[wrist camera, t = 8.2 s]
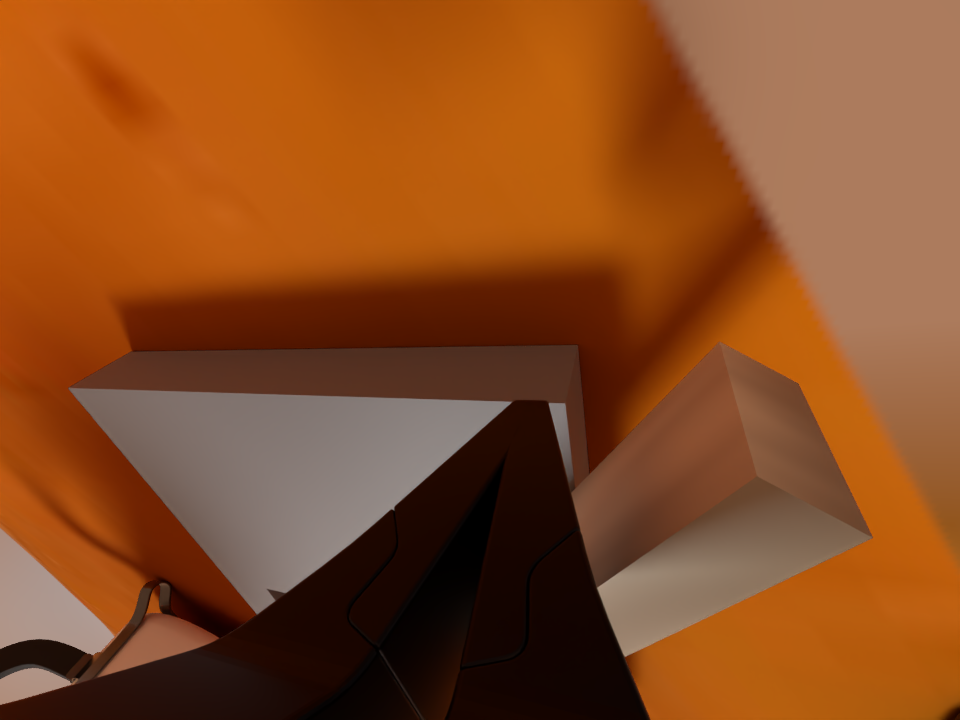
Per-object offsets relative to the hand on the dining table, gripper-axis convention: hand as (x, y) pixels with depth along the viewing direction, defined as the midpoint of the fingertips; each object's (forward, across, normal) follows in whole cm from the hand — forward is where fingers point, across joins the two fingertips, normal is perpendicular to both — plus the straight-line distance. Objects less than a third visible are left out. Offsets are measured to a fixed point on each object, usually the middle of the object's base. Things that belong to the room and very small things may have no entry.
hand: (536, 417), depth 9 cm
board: (+4, +9, +11) cm, 14 cm away
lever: (+1, +3, +9) cm, 10 cm away
